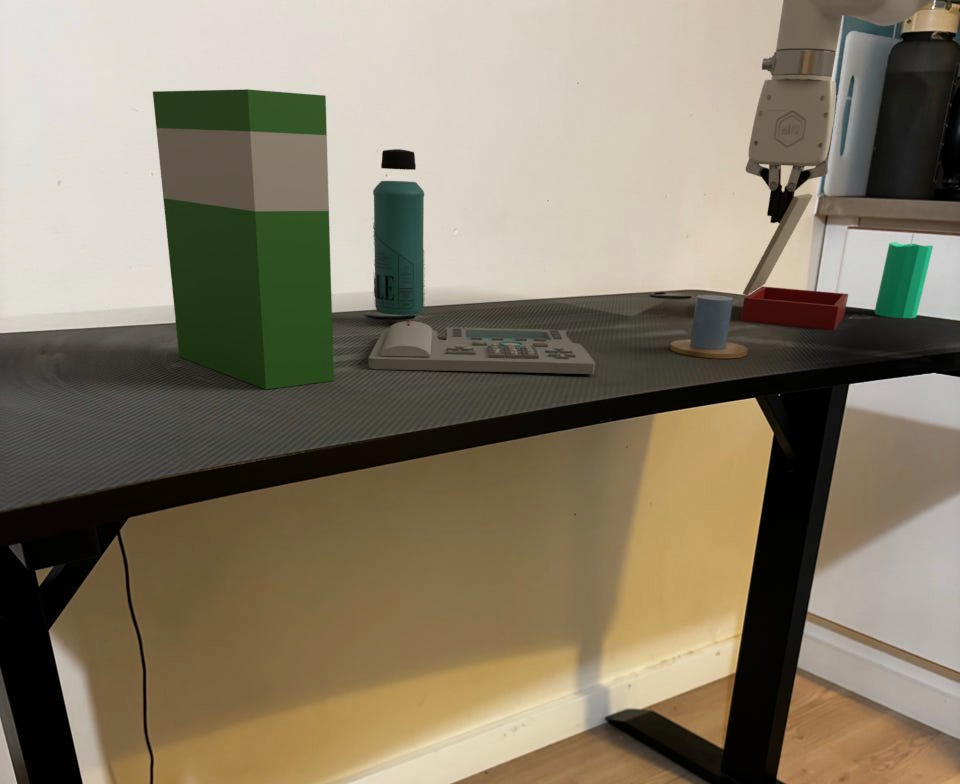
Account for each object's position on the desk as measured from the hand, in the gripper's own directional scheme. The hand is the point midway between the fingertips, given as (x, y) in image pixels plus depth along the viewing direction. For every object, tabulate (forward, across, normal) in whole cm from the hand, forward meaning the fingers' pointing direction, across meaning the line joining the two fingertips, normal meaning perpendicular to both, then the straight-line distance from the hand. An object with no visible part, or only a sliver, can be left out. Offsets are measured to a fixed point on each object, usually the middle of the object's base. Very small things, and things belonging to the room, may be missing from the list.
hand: (777, 222), depth 133 cm
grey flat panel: (+3, +1, 0) cm, 3 cm away
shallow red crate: (+13, +4, 0) cm, 14 cm away
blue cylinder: (+12, -2, -30) cm, 33 cm away
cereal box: (+13, -40, -68) cm, 80 cm away
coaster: (+13, -2, -30) cm, 33 cm away
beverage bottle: (+13, -41, -35) cm, 55 cm away
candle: (+13, +17, +14) cm, 26 cm away
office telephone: (+13, -24, -48) cm, 55 cm away
